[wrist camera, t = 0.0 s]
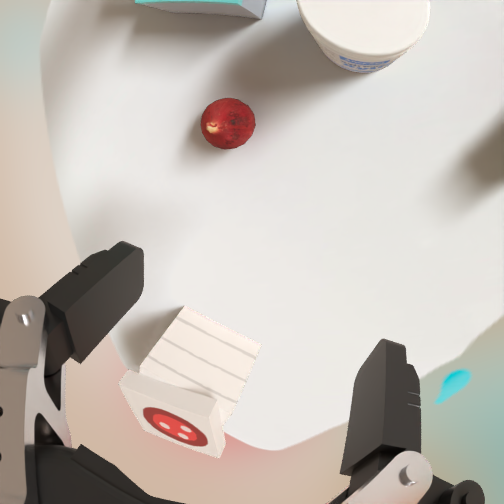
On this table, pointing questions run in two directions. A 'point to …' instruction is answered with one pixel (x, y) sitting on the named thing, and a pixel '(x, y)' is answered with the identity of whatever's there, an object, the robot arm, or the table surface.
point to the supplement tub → (365, 30)
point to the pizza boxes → (191, 382)
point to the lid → (192, 1)
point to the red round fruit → (227, 123)
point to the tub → (216, 8)
